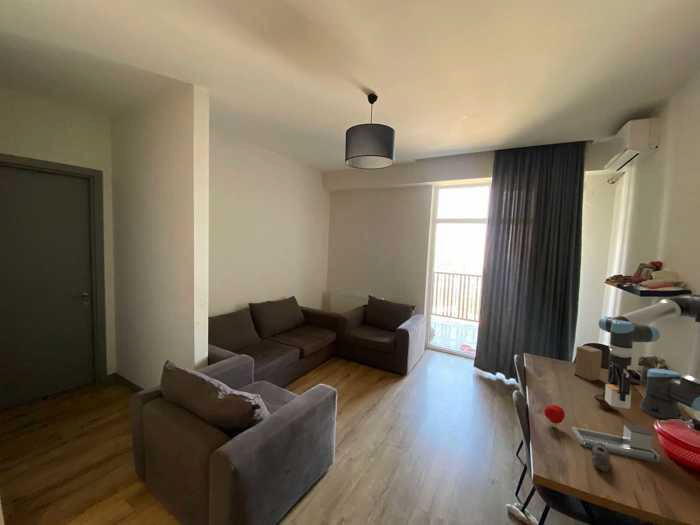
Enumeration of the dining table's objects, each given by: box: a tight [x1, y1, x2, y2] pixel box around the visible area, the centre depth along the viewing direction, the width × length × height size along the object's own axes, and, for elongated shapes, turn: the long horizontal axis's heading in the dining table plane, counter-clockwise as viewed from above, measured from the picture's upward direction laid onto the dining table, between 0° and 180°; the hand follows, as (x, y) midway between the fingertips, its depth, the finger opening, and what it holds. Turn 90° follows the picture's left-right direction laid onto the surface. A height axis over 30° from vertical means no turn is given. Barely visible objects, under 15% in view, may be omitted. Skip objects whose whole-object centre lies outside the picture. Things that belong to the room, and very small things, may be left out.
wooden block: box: [574, 345, 603, 382], centre depth 190 cm, size 10×10×20 cm
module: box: [604, 383, 632, 410], centre depth 132 cm, size 7×6×8 cm
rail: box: [571, 423, 661, 464], centre depth 123 cm, size 26×10×10 cm, turn 70°
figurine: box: [593, 384, 614, 410], centre depth 154 cm, size 10×8×12 cm
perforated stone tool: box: [591, 442, 610, 473], centre depth 113 cm, size 15×5×7 cm, turn 137°
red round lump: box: [543, 404, 566, 428], centre depth 135 cm, size 9×7×10 cm
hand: (617, 403), depth 133 cm, fingers closed on module, 5 cm apart
